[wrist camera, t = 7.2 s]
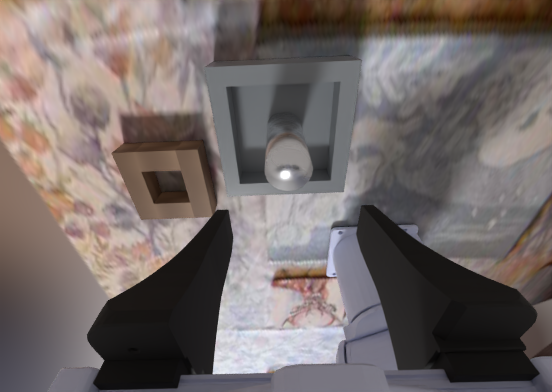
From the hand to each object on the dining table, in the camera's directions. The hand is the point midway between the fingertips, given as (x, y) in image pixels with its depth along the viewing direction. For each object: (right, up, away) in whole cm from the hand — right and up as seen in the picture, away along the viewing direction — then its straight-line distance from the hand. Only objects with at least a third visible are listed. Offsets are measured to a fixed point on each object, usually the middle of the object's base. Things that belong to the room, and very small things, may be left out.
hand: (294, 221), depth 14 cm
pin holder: (-11, +3, +10) cm, 15 cm away
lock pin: (0, +7, +7) cm, 9 cm away
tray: (0, +7, +7) cm, 10 cm away
